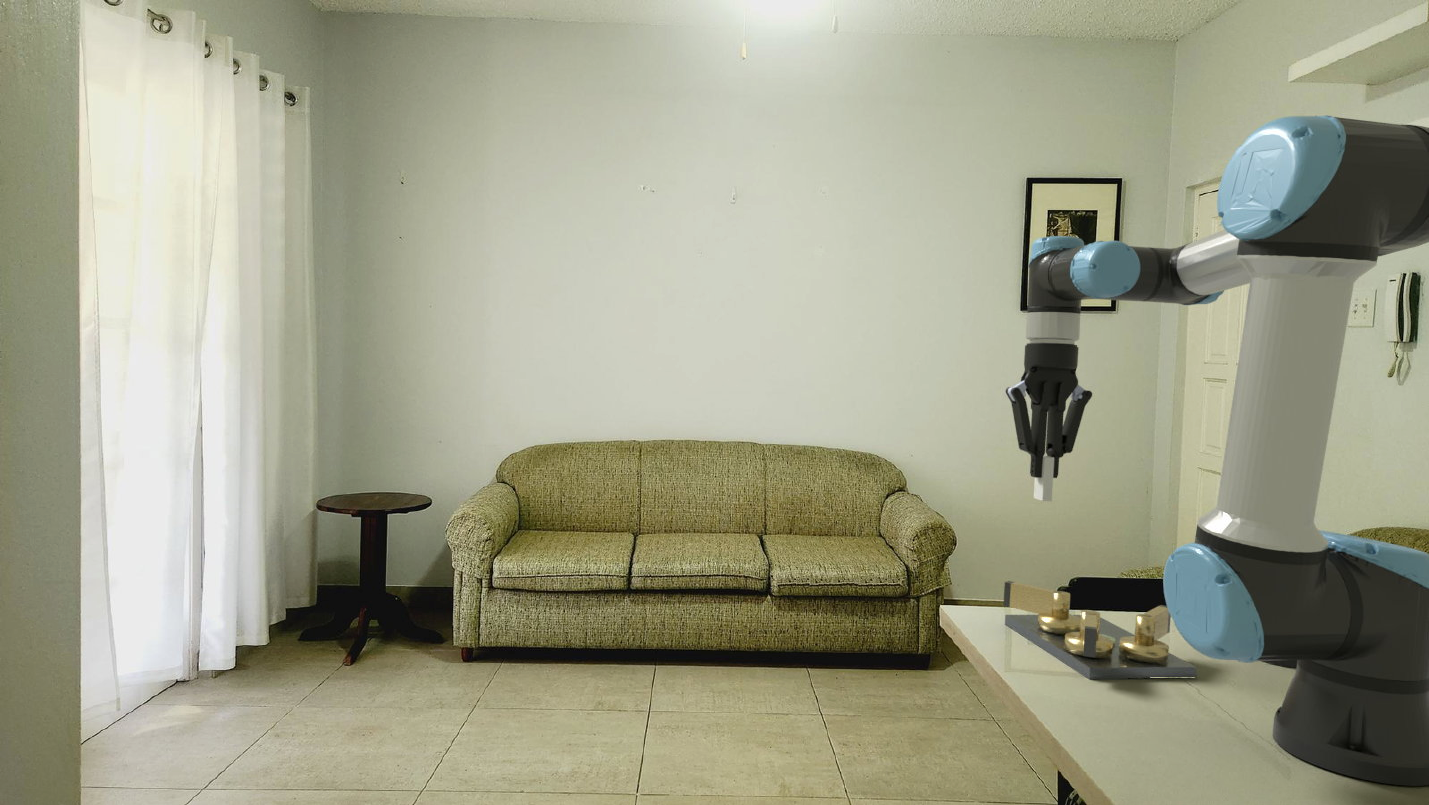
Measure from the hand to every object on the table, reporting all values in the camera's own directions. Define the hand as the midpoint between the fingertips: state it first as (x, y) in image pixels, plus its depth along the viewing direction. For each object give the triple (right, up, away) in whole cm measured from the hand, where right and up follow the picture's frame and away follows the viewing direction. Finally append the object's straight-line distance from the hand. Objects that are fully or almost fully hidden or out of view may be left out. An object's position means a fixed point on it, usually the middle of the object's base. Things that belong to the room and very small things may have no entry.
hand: (1042, 499), depth 138 cm
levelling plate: (+5, -21, -7) cm, 22 cm away
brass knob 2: (0, -19, -16) cm, 25 cm away
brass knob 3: (+10, -19, -13) cm, 25 cm away
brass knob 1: (-1, -18, -2) cm, 18 cm away
